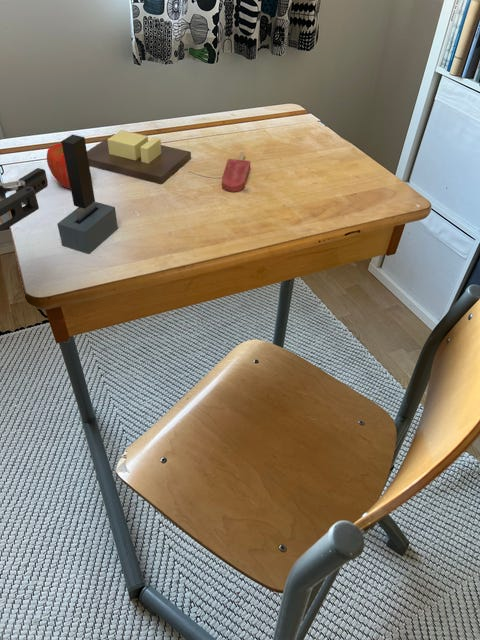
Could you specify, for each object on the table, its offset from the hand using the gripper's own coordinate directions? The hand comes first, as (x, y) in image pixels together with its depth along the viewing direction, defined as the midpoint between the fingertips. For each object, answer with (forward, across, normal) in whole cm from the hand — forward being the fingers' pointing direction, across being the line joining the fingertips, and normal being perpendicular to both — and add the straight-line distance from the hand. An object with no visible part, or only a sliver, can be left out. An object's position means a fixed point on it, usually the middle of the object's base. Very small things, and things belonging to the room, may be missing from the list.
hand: (15, 168), depth 62 cm
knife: (+11, 0, +17) cm, 20 cm away
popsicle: (+42, -12, +17) cm, 47 cm away
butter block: (+38, +9, +15) cm, 41 cm away
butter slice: (+38, +4, +15) cm, 41 cm away
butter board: (+38, +8, +16) cm, 42 cm away
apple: (+24, +13, +17) cm, 31 cm away
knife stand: (+11, 0, +16) cm, 20 cm away
